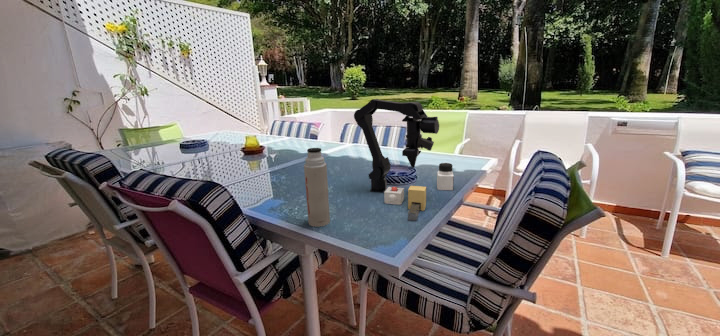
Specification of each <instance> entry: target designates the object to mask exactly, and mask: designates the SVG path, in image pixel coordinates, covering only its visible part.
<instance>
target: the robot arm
mask: <svg viewBox="0 0 720 336" xmlns="http://www.w3.org/2000/svg"><path fill="white" fill-rule="evenodd" d="M378 109H379V110H385V111H391V112H397V113H400V114H402V115H403V116H405V117H404V118H403V119H401V121H402V122H405V123H406V134H405V138H406V143H405V148H404V149H403V150H402V151H401V153H402V157H406V158H407V161H408V162H409V164H410V167H411V169H415V167H416V162H417V159H418V156H419V155H420V154H421V152H422V150H419V149H426V150H427V151H431V150H432V148H433V146H434V144H435V141H434V140H433V138H432V137H430V136H428V137H427V138H426V137H425V138H424V137H422V136H423V135H422V134H435V135H437V134H438V133H439V130H440V122H439V117H438V116H428V115H427V114H426V112H425V110H424V109H423V105H422V103H421V102H418V101H408V102H407V101H406V102H401V101H400V102H398V101H390V100H385V99H384V100H383V99H380V98H374V99H373V98H372V99H371V100H370V101H368V103H366V104H365V105H363V106H362V107H360V108H359V109H356V110H355V111H354V113H353V118H354V121H355V122H356V124H357V125H358V126H359V128H360V129H361V130H362V133H363V135H364V138H365V141H366V143H367V146H368V150H369V152H370V155H371V158H372V161H371V162H372V164H371V166H372V171H371V172H370V173H368V178H369V180H370V181H371V182H370V183H371V185H370V186H371V188H370V192H377V193H384V192H385V191H386V189H387V188H388V186H387V179H386V177H387V176H388V173H389V172H390V170H391V165H392V164H391V162H390V158H389V157H388V156H386V157H385V156H384V155H383V153H382V150H381V147H380V145H379V141H378V139H377V136H376V133H375V130H374V127H373V119H374V118H373V115H374V114H375V113H376V111H377V110H378ZM421 132H422V133H421Z"/></svg>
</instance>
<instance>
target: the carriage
mask: <svg viewBox="0 0 720 336" xmlns="http://www.w3.org/2000/svg"><path fill="white" fill-rule="evenodd" d="M407 190H408V191H407V209H408V210H410V207H411V205H412V203H413V202H417V203H421V209H420V211H421V212H422V211H425V209H426V206H427V186H421V185H410V186H409V188H408V189H407Z"/></svg>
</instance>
